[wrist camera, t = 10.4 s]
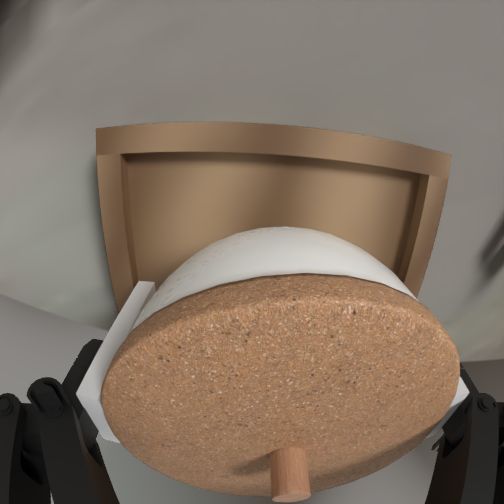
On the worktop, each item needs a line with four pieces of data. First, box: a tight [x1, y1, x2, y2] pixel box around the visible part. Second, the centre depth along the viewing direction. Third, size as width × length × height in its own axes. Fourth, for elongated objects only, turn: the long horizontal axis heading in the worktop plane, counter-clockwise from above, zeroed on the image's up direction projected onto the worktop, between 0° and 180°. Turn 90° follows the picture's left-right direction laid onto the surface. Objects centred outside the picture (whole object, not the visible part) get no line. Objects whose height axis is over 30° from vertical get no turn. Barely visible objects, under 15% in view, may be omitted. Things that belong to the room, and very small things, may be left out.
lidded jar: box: [101, 226, 460, 503], centre depth 10 cm, size 11×11×9 cm
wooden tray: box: [96, 122, 452, 314], centre depth 15 cm, size 16×16×3 cm
